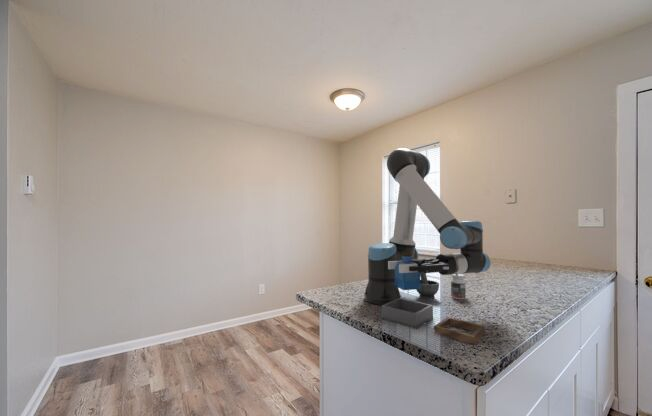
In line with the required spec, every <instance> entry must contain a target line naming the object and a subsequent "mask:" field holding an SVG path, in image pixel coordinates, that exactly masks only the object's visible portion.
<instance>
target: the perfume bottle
mask: <svg viewBox="0 0 652 416" xmlns="http://www.w3.org/2000/svg"><path fill="white" fill-rule="evenodd" d="M402 254H403V256H402V259H403V261H399V262H398V264H397V265H396V267H395V286H396V287H398V288H399V290H400V289H401V290H402V291H410V290H411V291H414V290H415V291H416V289H420V280H421V277H420V272H418V271H417V272H411V273H399V264H416V263H414V262H411V259H412V256H411V252H402Z"/></svg>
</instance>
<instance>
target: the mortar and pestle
mask: <svg viewBox="0 0 652 416" xmlns="http://www.w3.org/2000/svg"><path fill="white" fill-rule="evenodd" d="M439 287H440V282H437V281H435V280H431V279H428V277H427V273H423V272H420V289H415V291H416V292H417V293H418V295H419V296H418V298H419V299H420V300H423V301H434V300H435V298H436V297H435V295H436V294H437V293H438V291H439Z"/></svg>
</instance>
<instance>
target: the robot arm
mask: <svg viewBox="0 0 652 416" xmlns="http://www.w3.org/2000/svg"><path fill="white" fill-rule="evenodd" d="M386 159H387V160H386V167H387V168H386V169H387V170H388V172H389V174H390V175H391V177H392V178H393V180H394V181H395V182H397V183H398V185H399V187H398V196H397V205H396V211H395V212H396V213H395V219H394V220H395V221H394V229H393V234H392V235H393V236H392V237H391V238H390V239H389V240H388V241H389V242H382V243H375V244H373V245H370V246H369V247H368V253H367V257H368V258H367V259H368V261H367V263H368V264H367V265H368V268H367V269H368V270H367V271H368V281H367V284H366V288H365V292H364V293H363V294H364V301H365V302H367V303H369V304H373V305H377V306H378V305H379V306H382V305H384V304H387V303H389V302H391V301H394V300H396V299H399V298H402V296H401V292H400V288H398V287H396V286H395V267H396V265H397V264H398V262H399V261H403V259H402V256H403V254H402V252H411V256H412V259H411V262H414V263H416V264H399V273H411V272H417V271H418V272H423V273H426V274H432V273H439V274H440V275H442V276H449V275H451V276H452V274H455V275H456V276H458V274H462V275H464V274H480V273H485V272H487V271H488V270H489V269H490V267H491V259H490V257H489V255H488V254H487V253H485V252H484V247H483V246H484V244H483V237H484V235H483V233H484V230H483V223H482V222H481V221H480V220H462V221H460V222H459V221H458V219H457V218H456V216H455V215H454V214H453V213H452V212H451V210H450V209H449V208H448V207H447V206H446V205H445V203H444V202H443V201H442V200H441V199H440V198H439V197H438V196H439V195H437V194H436V193H435V192H434V190H433V189H432V188H431V186H430V185H429V184H428V183H427V182H426V180H425V178H426V177H427V176H428V175H429V173H430V170H431V163H430V161H429V158H428V157H427V156H426V155H424V154H423V153H421V152H419V151H414V150H411V149H408V148H404V147H403V148H402V147H401V148H396V149H394V150H392V151H391V153H390V154H389V155H388V157H387V158H386ZM417 206H418V207H417ZM417 208H419V209H420V210H421V212H423V214H424V215H425V216H426V218H427V219H428V221H430V223H431V225H432V226H433V227H434V228H435V229H436V231H438V233H439V234H440V235H439V241H440V242H441V244H442V246H443V247H445V248H447V249H449V250H450V249H451V250H459V249H460V250H459V252H452V253H440V254H438V255H437V256H436V258H425V257H424V258H419V251H417V248H416V242H415V240H414V239H413V238H414V231H415V224H416V216H417V215H416V214H417Z"/></svg>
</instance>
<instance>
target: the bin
mask: <svg viewBox="0 0 652 416" xmlns="http://www.w3.org/2000/svg"><path fill="white" fill-rule="evenodd" d="M381 319H382V320H383V321H384V320H385V321H387V322H391V323H395V324H397V325H401V326H405V327H408V328H411V327H412V329H414V330H415V329H416V330H417V329H419V328H420V327H422V326H423V325H425V324H427V323H428V322H430V321H432V320H433V319H434V305H433V304H429V303H424V302H420V301H416V300H415V301H414V300H411V299H410V300H409V299H407V298H402V297H401V298H399V299H396V300H394V301H391V302H389V303H387V304H384V305H381Z"/></svg>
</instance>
